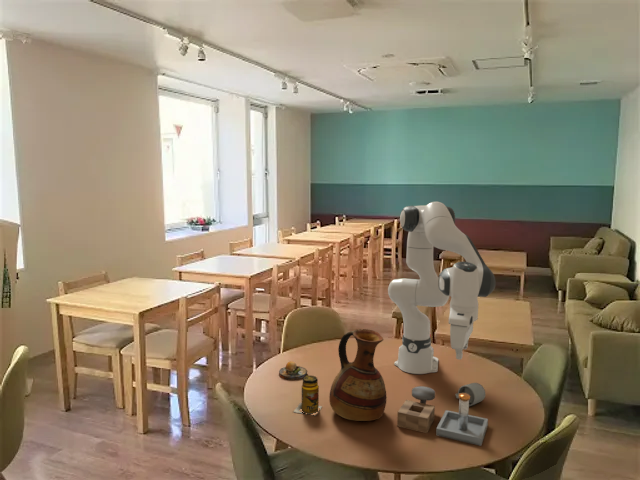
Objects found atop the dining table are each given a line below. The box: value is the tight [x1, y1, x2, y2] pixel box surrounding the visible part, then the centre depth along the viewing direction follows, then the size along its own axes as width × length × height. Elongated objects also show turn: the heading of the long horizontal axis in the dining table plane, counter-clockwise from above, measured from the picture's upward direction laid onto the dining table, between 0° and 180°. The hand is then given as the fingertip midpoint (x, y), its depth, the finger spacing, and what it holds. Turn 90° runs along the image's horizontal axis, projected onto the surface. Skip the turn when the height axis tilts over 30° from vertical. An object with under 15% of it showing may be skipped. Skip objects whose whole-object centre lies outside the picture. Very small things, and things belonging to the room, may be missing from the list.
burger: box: [278, 360, 308, 381], centre depth 208 cm, size 12×12×8 cm
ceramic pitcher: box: [328, 328, 388, 422], centre depth 172 cm, size 20×20×30 cm
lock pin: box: [458, 393, 470, 431], centre depth 163 cm, size 4×4×12 cm
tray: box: [435, 409, 489, 447], centre depth 163 cm, size 14×14×2 cm
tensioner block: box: [396, 385, 436, 434], centre depth 171 cm, size 18×10×8 cm, turn 154°
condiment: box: [293, 375, 323, 417], centre depth 176 cm, size 7×8×12 cm
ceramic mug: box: [455, 382, 486, 407], centre depth 184 cm, size 10×8×7 cm
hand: (461, 353), depth 163 cm, fingers open, 8 cm apart
